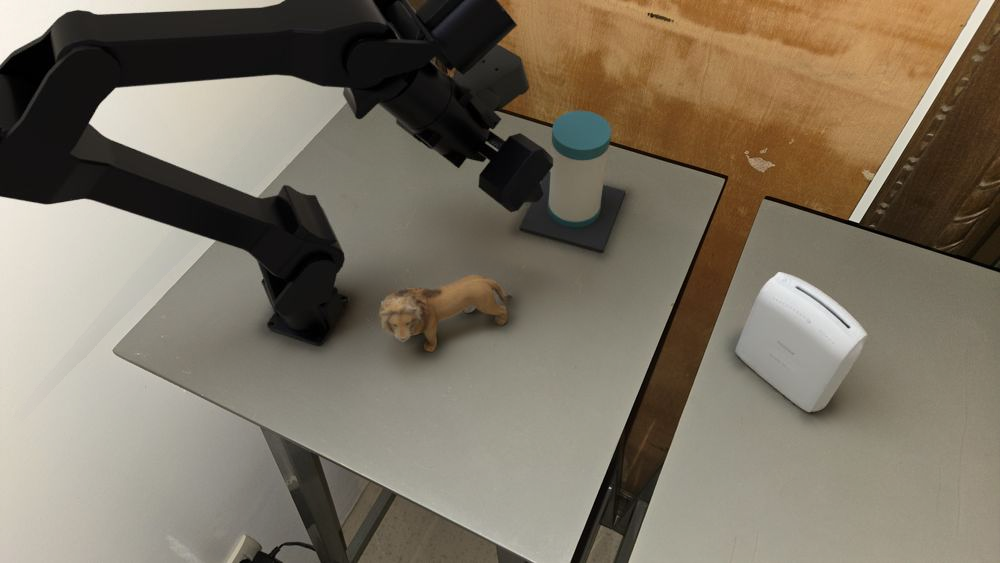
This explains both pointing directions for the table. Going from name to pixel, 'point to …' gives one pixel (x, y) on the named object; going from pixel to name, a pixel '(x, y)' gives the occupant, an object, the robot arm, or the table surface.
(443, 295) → the lion figurine
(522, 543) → the table surface
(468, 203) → the table surface
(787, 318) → the photo printer
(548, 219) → the mat
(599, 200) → the cylinder
